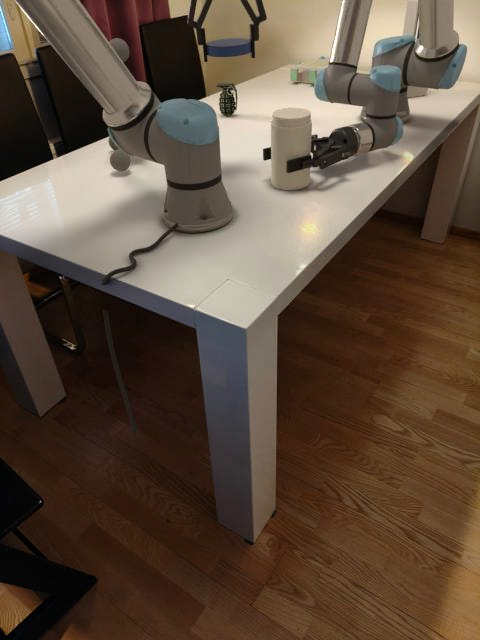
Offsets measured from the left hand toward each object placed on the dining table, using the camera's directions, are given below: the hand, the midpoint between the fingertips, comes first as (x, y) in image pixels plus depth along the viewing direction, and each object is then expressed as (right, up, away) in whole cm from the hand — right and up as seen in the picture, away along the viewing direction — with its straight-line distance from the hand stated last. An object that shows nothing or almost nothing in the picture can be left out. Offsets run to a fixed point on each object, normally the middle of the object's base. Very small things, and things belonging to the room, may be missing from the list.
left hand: (229, 59), depth 114 cm
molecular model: (-25, -14, +26) cm, 39 cm away
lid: (0, +2, -2) cm, 3 cm away
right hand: (+11, -23, +1) cm, 26 cm away
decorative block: (+36, +41, +93) cm, 108 cm away
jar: (+15, -27, +7) cm, 32 cm away
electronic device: (+64, +22, +66) cm, 94 cm away
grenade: (-2, +10, +56) cm, 57 cm away
